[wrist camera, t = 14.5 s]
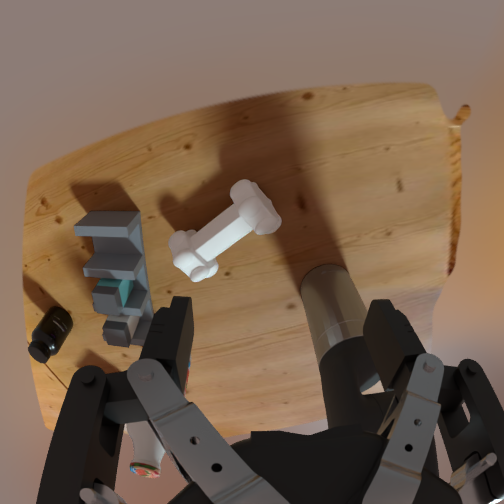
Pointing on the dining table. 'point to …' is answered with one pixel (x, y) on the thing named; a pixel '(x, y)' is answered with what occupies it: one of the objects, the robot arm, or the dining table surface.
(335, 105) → the dining table surface
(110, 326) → the offwhite plug
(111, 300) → the teal plug
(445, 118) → the dining table surface
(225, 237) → the bone shaped toy
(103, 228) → the grey piece
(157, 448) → the fruit juice
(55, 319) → the supplement bottle
